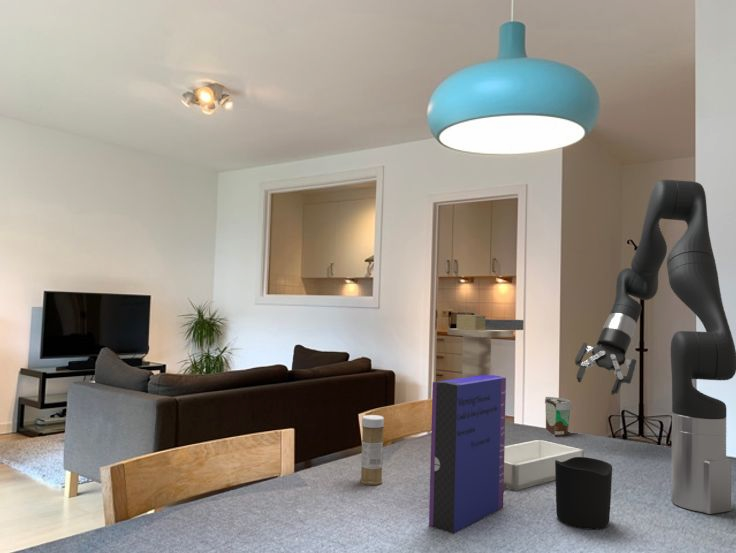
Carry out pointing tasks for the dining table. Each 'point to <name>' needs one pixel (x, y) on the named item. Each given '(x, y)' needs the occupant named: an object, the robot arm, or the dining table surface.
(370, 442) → the sprinkles bottle
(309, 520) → the dining table surface
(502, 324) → the pin
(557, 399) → the food container
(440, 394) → the purple book
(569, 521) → the pen holder
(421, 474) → the dining table surface
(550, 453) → the tray
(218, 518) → the dining table surface
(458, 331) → the bracket
